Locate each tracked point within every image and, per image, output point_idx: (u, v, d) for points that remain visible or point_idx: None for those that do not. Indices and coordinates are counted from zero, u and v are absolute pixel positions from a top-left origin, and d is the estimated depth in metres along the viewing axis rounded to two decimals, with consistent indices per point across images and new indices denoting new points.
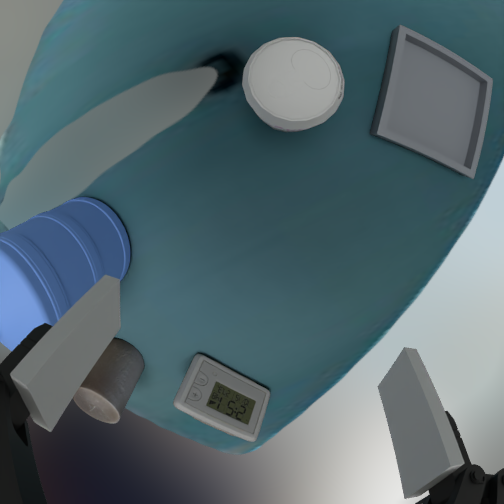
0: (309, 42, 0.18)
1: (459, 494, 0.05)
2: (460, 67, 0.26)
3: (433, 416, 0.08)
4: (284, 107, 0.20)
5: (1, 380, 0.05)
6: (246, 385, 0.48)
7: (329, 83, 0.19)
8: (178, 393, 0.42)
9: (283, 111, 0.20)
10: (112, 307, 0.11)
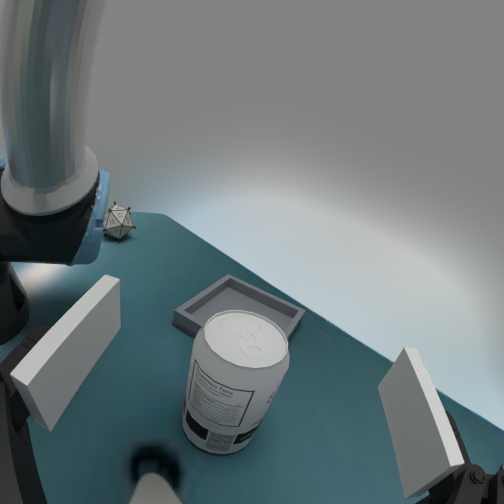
0: (214, 316, 0.25)
1: (459, 494, 0.05)
2: (215, 293, 0.52)
3: (433, 416, 0.08)
4: (273, 353, 0.22)
5: (1, 380, 0.05)
6: None
7: (256, 321, 0.26)
8: None
9: (276, 355, 0.22)
10: (112, 307, 0.11)
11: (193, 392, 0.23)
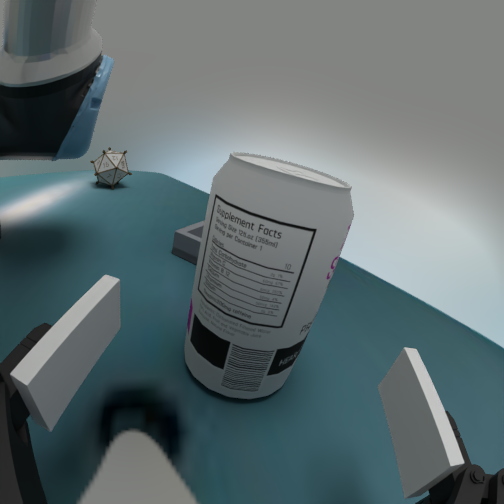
0: (242, 155, 0.17)
1: (459, 494, 0.05)
2: None
3: (433, 416, 0.08)
4: (333, 185, 0.15)
5: (1, 380, 0.05)
6: None
7: (297, 168, 0.18)
8: None
9: (338, 186, 0.15)
10: (112, 307, 0.11)
11: (207, 266, 0.16)
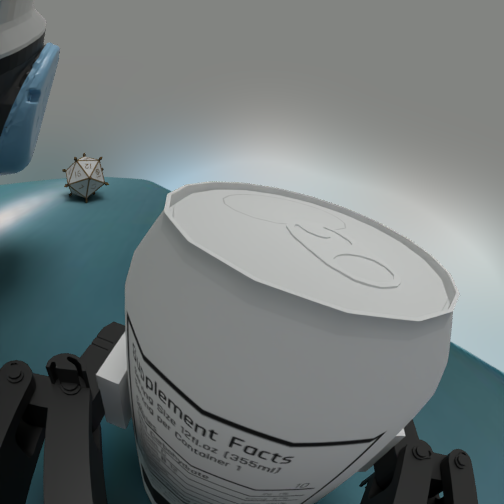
0: (207, 187, 0.08)
1: (402, 474, 0.06)
2: None
3: None
4: (419, 277, 0.06)
5: (87, 386, 0.07)
6: None
7: (325, 211, 0.09)
8: None
9: (432, 282, 0.06)
10: None
11: (140, 432, 0.07)
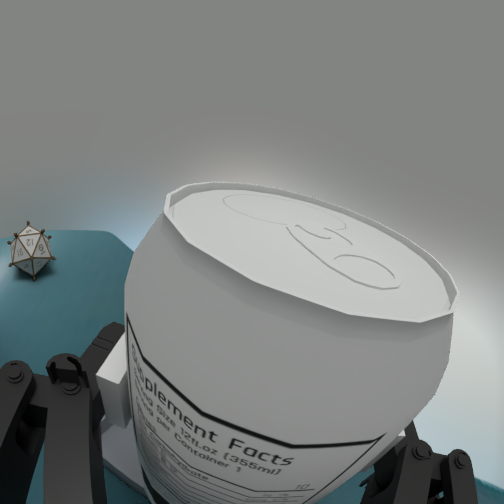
0: (207, 187, 0.08)
1: (402, 474, 0.06)
2: None
3: None
4: (420, 278, 0.06)
5: (86, 386, 0.07)
6: None
7: (325, 211, 0.09)
8: None
9: (432, 283, 0.06)
10: None
11: (140, 433, 0.06)
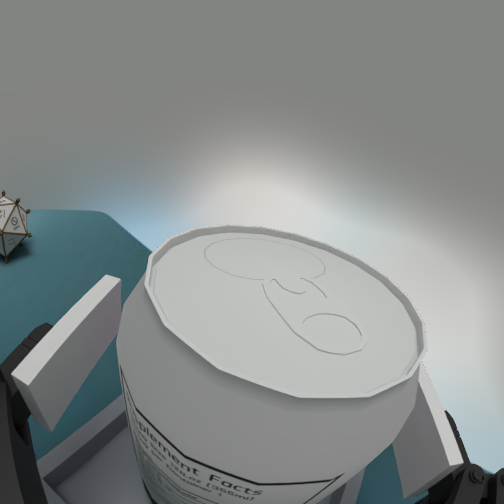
0: (190, 235, 0.08)
1: (458, 494, 0.05)
2: None
3: (432, 415, 0.08)
4: (390, 331, 0.06)
5: (2, 380, 0.05)
6: None
7: (307, 251, 0.09)
8: None
9: (402, 335, 0.06)
10: (113, 307, 0.11)
11: (139, 456, 0.07)
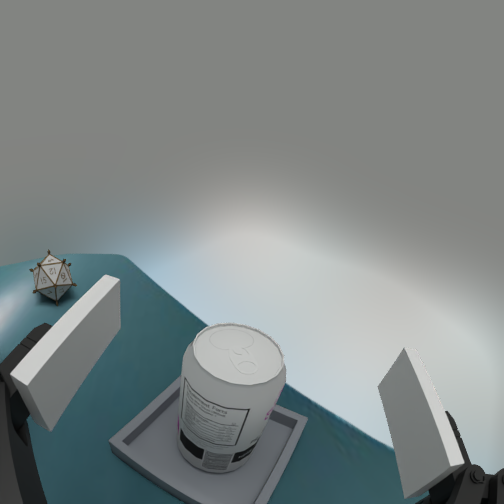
0: (204, 331, 0.23)
1: (459, 494, 0.05)
2: (174, 397, 0.31)
3: (433, 416, 0.08)
4: (268, 367, 0.21)
5: (1, 380, 0.05)
6: None
7: (248, 333, 0.24)
8: None
9: (272, 369, 0.20)
10: (112, 307, 0.11)
11: (185, 411, 0.21)
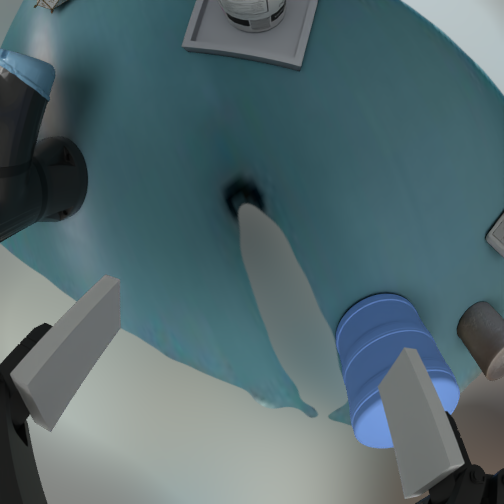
0: None
1: (459, 494, 0.05)
2: None
3: (433, 416, 0.08)
4: None
5: (1, 380, 0.05)
6: None
7: None
8: None
9: None
10: (112, 307, 0.11)
11: (223, 3, 0.23)
